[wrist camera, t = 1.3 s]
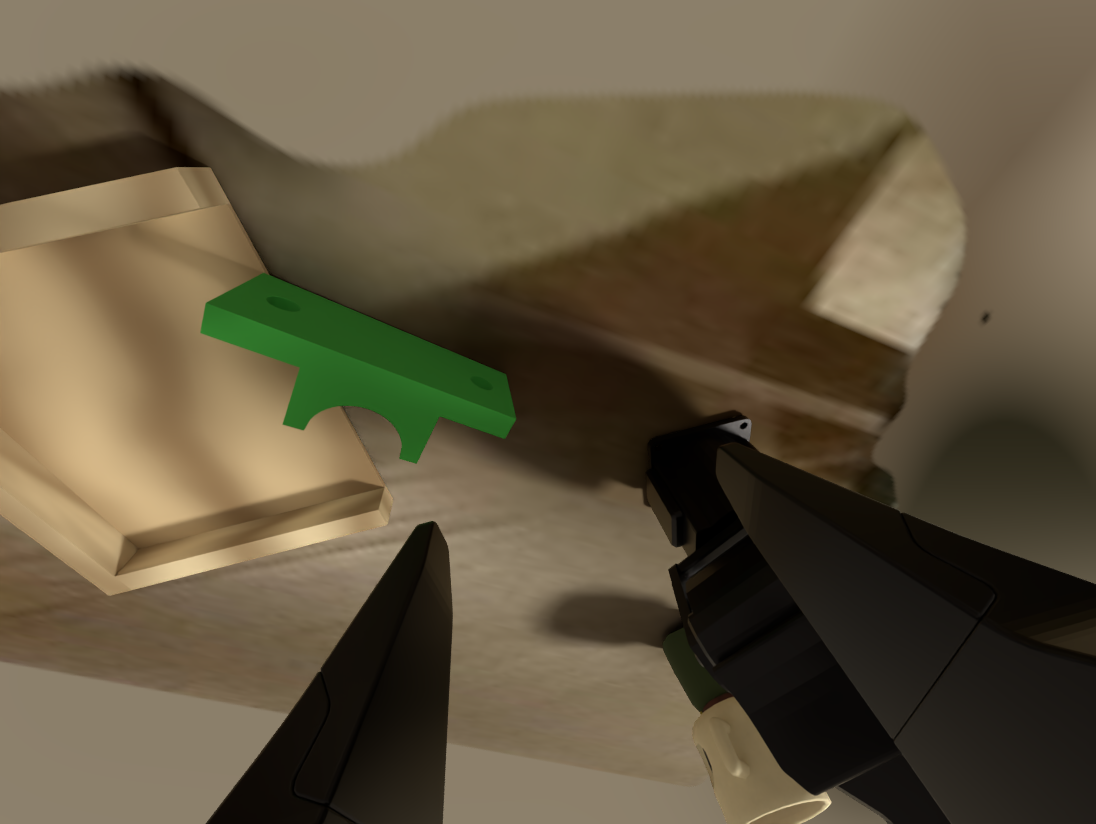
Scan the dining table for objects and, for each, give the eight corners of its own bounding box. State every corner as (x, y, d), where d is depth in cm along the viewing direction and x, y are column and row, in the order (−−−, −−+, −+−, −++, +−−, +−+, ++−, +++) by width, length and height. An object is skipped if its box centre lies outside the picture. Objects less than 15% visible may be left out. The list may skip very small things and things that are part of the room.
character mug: (630, 630, 36) (701, 833, 25) (697, 590, 34) (803, 787, 23) (686, 665, 41) (765, 845, 30) (746, 631, 40) (852, 809, 29)
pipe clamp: (246, 348, 18) (185, 396, 14) (264, 271, 17) (203, 301, 13) (477, 430, 22) (479, 484, 18) (507, 374, 21) (516, 420, 17)
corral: (210, 167, 15) (176, 167, 13) (393, 499, 24) (387, 524, 22) (-227, 260, 14) (-323, 273, 12) (135, 564, 23) (109, 595, 21)
